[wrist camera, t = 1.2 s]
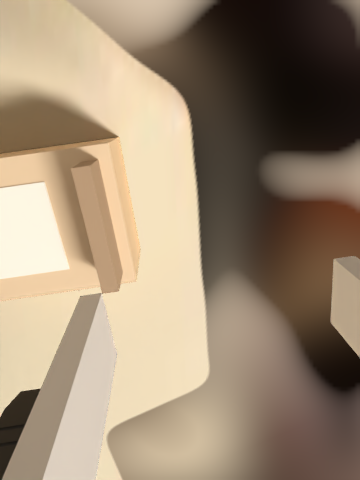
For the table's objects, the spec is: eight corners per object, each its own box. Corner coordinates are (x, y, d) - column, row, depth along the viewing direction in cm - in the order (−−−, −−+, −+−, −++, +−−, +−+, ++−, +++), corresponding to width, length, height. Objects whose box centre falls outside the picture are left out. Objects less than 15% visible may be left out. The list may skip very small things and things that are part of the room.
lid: (-30, 302, 27) (-57, 328, 23) (-88, 170, 23) (-130, 179, 19) (136, 278, 27) (133, 301, 24) (109, 142, 23) (100, 147, 20)
